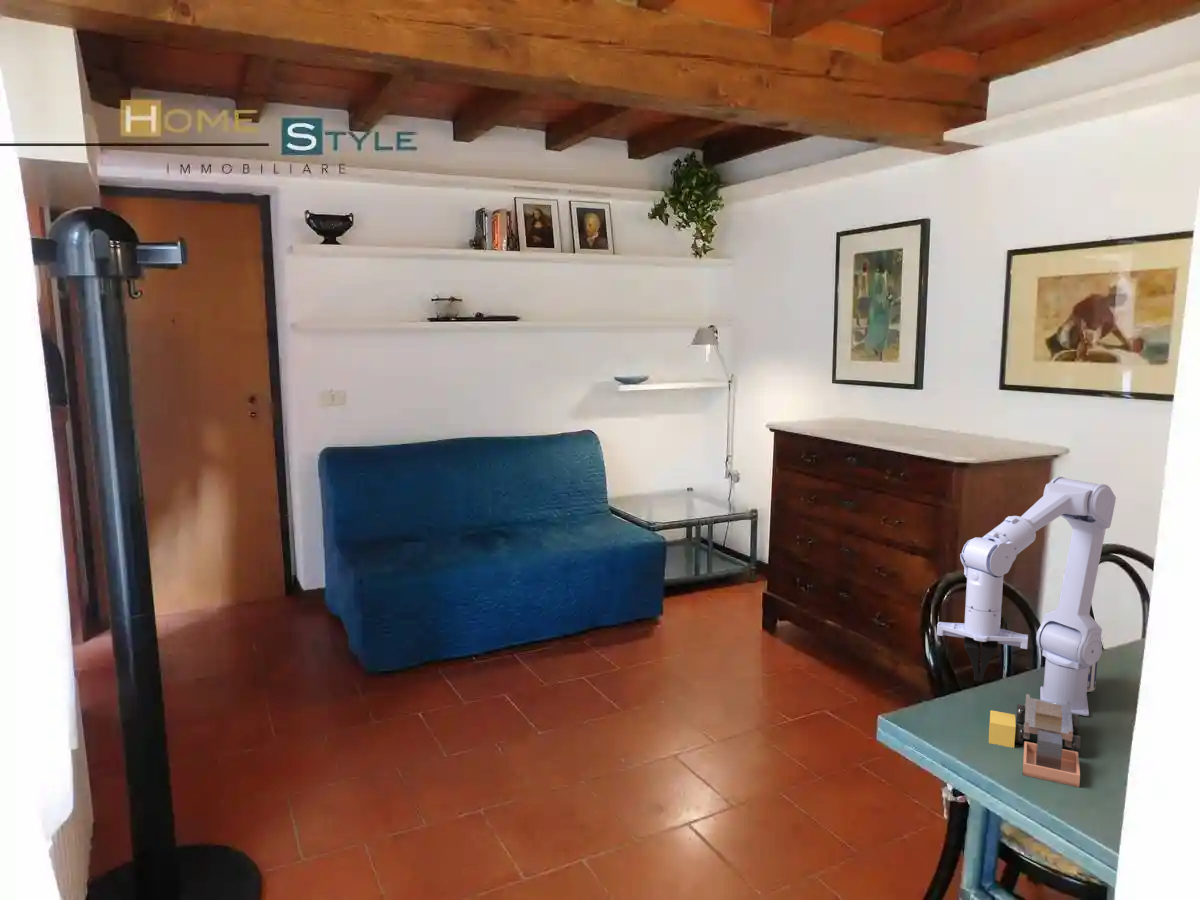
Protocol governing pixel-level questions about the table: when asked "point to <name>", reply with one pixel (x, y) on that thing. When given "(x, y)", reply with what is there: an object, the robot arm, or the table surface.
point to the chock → (1002, 728)
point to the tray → (1065, 775)
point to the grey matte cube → (1049, 750)
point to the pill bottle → (1092, 677)
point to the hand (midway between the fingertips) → (978, 679)
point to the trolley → (1048, 721)
